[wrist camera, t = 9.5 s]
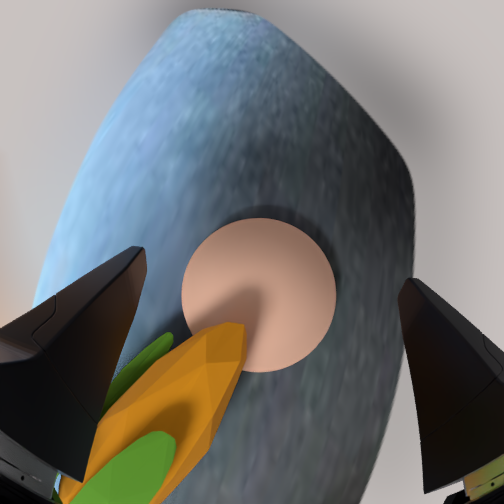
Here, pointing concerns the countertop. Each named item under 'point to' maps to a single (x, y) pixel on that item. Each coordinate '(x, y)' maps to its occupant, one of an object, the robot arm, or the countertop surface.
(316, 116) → the countertop surface
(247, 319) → the pink flat disc
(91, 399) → the robot arm
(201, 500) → the countertop surface
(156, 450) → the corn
